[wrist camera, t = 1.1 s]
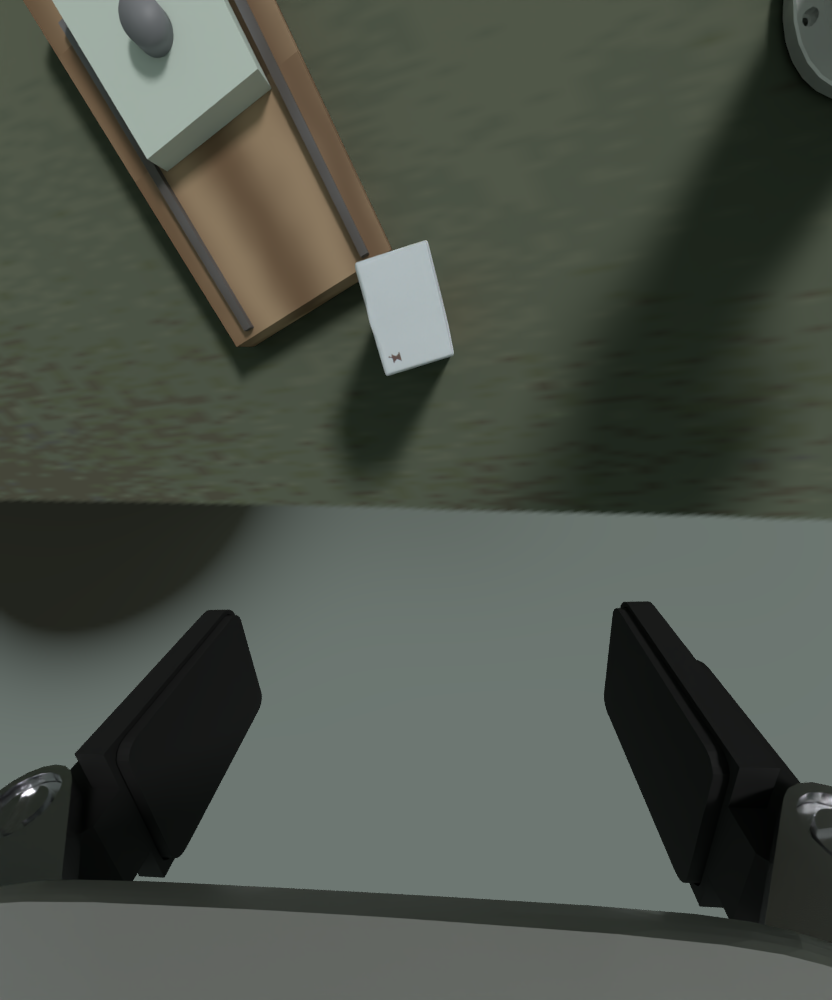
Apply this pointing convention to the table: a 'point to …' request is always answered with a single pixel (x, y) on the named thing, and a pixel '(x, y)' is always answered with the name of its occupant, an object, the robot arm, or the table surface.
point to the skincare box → (405, 308)
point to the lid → (168, 68)
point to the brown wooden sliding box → (250, 186)
